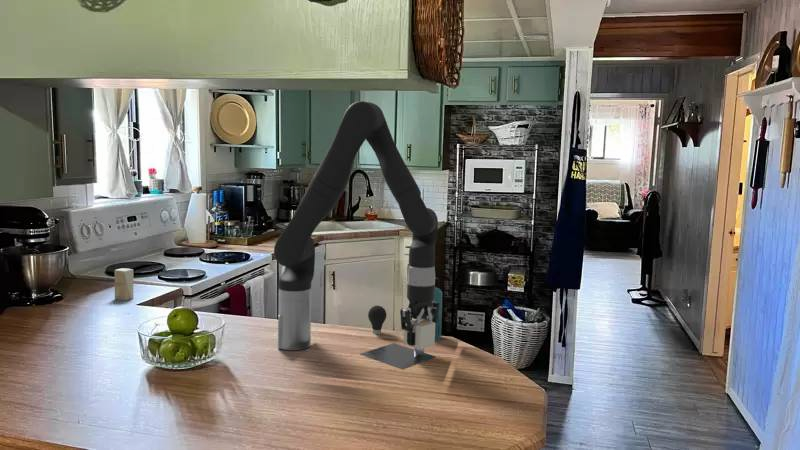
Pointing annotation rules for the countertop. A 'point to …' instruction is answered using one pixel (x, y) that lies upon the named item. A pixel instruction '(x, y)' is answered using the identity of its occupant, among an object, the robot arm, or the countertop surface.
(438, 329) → the beverage bottle
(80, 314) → the countertop surface
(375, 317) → the light bulb
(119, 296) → the cream upright cylinder
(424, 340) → the white box
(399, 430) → the countertop surface
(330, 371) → the countertop surface
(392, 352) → the plate
